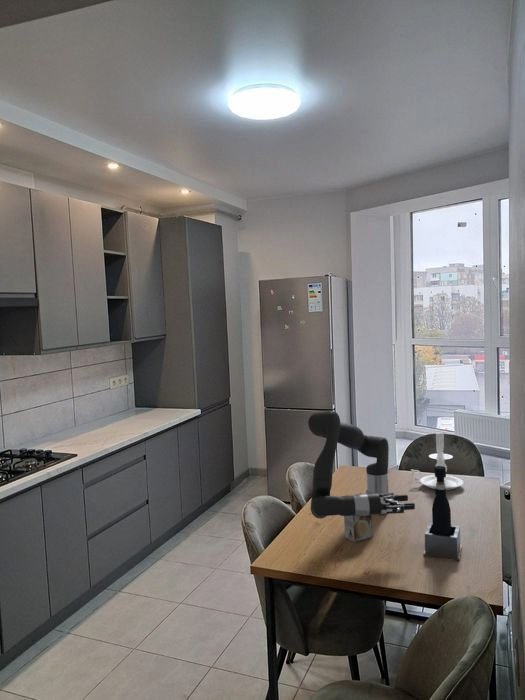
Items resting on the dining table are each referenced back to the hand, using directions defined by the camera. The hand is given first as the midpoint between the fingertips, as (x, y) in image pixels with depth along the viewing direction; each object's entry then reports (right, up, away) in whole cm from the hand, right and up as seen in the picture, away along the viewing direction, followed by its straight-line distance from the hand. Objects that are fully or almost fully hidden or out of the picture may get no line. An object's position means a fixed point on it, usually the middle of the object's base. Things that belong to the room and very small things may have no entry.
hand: (411, 501), depth 193 cm
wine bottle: (+12, -18, +1) cm, 21 cm away
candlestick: (+33, -13, +72) cm, 80 cm away
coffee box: (-16, -19, +17) cm, 30 cm away
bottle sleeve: (+12, -18, +1) cm, 22 cm away
